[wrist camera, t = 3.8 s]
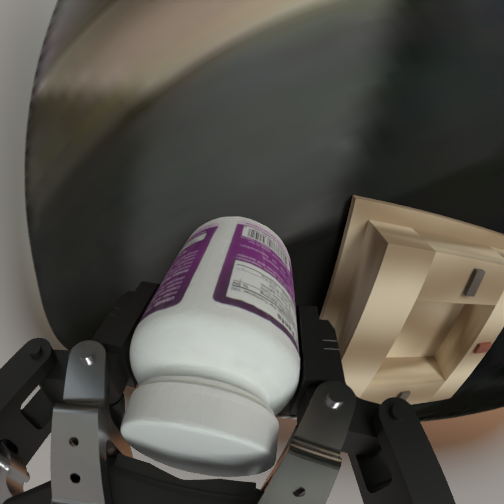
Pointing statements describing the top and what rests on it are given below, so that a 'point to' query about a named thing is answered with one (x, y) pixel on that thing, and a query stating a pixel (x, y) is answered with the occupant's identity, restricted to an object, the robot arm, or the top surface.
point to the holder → (413, 301)
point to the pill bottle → (216, 353)
